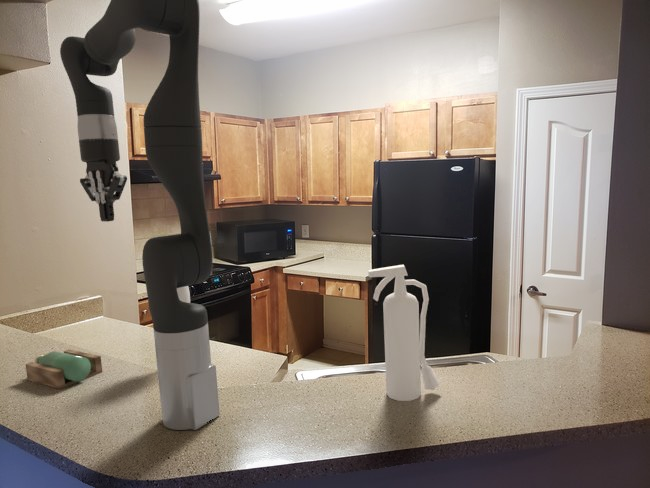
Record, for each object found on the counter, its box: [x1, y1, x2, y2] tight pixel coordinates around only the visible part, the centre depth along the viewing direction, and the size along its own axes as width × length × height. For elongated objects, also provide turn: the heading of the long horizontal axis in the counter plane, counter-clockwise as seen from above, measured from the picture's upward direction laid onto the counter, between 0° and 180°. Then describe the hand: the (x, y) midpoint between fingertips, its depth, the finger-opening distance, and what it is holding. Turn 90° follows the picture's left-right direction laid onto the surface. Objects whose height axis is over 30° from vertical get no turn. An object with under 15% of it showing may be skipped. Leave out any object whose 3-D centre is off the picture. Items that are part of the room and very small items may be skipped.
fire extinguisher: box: [368, 264, 442, 402], centre depth 93 cm, size 7×12×25 cm, turn 85°
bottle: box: [33, 350, 91, 382], centre depth 111 cm, size 5×5×15 cm
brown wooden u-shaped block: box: [25, 349, 103, 390], centre depth 112 cm, size 12×10×4 cm
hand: (107, 221), depth 105 cm, fingers closed
